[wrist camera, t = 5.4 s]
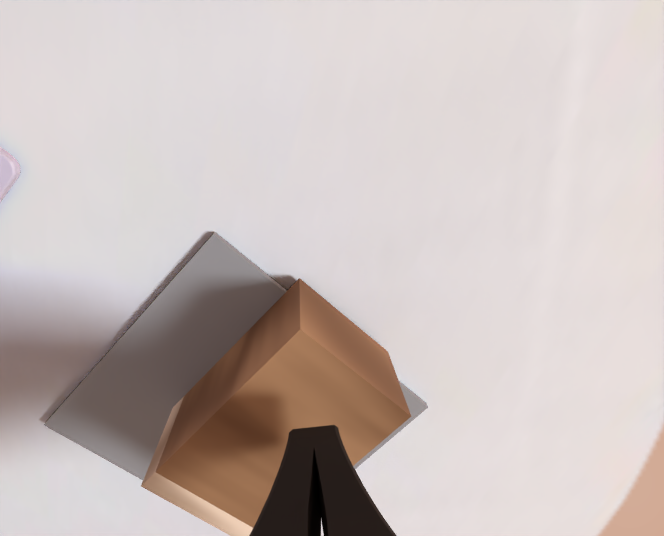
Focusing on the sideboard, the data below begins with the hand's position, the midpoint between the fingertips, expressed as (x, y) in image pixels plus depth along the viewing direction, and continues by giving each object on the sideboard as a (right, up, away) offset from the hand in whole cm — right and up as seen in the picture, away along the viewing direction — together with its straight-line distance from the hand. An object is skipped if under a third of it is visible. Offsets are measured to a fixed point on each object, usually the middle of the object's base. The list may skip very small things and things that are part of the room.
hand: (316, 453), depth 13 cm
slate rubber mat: (-3, -1, +6) cm, 7 cm away
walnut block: (+1, +3, +3) cm, 4 cm away
